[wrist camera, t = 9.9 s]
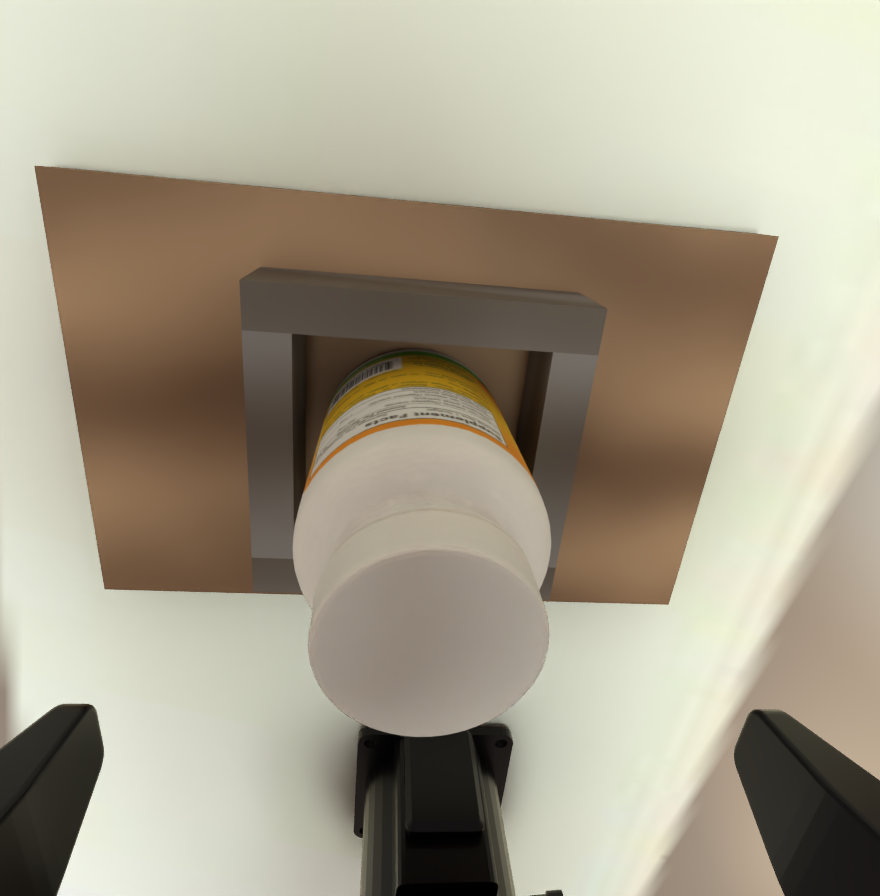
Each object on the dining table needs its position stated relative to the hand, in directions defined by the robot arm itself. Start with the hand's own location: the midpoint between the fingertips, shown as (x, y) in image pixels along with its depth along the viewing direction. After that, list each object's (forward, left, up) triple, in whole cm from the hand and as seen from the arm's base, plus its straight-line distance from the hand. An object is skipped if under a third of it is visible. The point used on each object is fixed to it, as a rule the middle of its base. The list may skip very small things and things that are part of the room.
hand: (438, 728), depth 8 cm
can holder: (0, 0, -12) cm, 12 cm away
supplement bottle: (0, 0, -12) cm, 12 cm away
